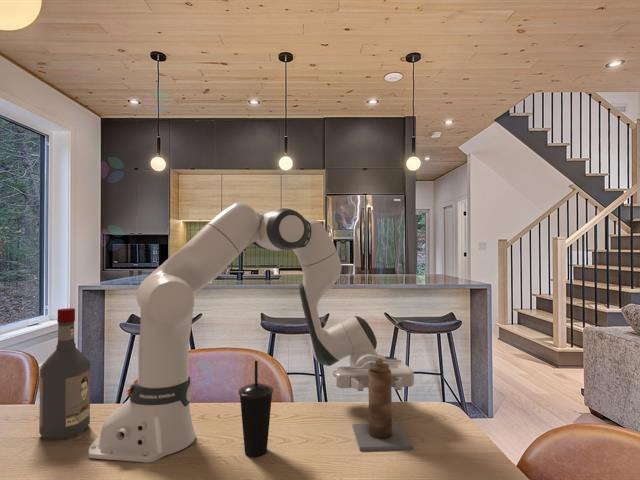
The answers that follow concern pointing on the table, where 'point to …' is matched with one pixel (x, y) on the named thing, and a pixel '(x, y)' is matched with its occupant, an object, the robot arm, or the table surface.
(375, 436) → the pepper mill
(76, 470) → the table surface
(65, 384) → the liquor
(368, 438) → the trivet
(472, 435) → the table surface
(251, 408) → the drinking cup
